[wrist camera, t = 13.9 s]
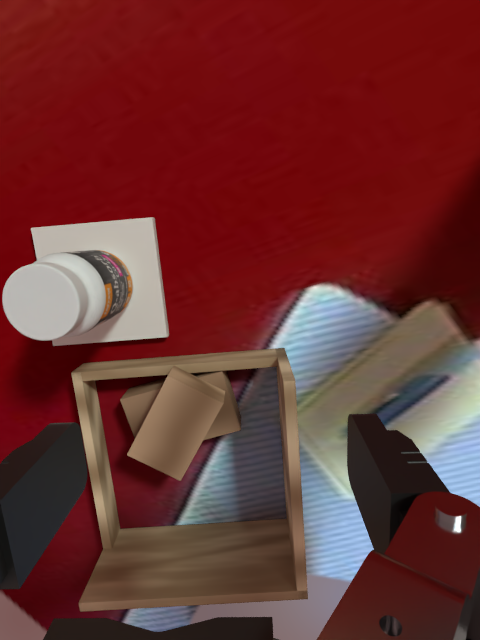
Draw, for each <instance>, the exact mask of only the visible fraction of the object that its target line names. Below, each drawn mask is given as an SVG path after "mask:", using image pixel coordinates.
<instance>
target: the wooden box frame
mask: <svg viewBox="0 0 480 640" xmlns="http://www.w3.org/2000/svg"><path fill="white" fill-rule="evenodd" d="M173 366H176V367H178V368H180V369H182V370H184V371H186V372H188V373H198V372H211V371H225V370H238V369H252V368H265V367H276V368H277V383H278V397H279V412H280V427H281V442H282V456H283V471H284V486H285V500H286V515H287V519H273V520H257V521H241V522H225V523H209V524H192V525H176V526H160V527H144V528H128V529H120V525H119V519H118V513H117V507H116V501H115V495H114V489H113V483H112V477H111V472H110V466H109V460H108V454H107V448H106V442H105V436H104V430H103V424H102V418H101V412H100V406H99V400H98V395H97V389H96V383H95V380H104V379H117V378H131V377H144V376H158V375H168V374H169V373H170V371H171V369H172V368H173ZM71 374H72V380H73V385H74V391H75V396H76V402H77V407H78V413H79V418H80V424H81V429H82V435H83V440H84V446H85V451H86V457H87V462H88V468H89V473H90V479H91V484H92V490H93V496H94V501H95V507H96V512H97V518H98V523H99V529H100V534H101V540H102V545H103V551H102V553H101V555H100V557H99V559H98V562H97V564H96V566H95V568H94V570H93V573H92V575H91V577H90V579H89V581H88V584H87V586H86V588H85V590H84V592H83V594H82V597H81V599H80V601H79V608H80V612H81V611H99V610H117V609H135V608H153V607H172V606H190V605H206V604H207V605H208V604H225V603H242V602H243V603H244V602H262V601H281V600H298V599H308V594H307V575H306V558H305V541H304V524H303V506H302V489H301V472H300V455H299V437H298V420H297V403H296V386H295V378H294V376H293V373H292V370H291V367H290V364H289V361H288V358H287V355H286V352H285V349H284V348H278V349H265V350H252V351H239V352H225V353H212V354H199V355H186V356H173V357H160V358H147V359H133V360H120V361H107V362H94V363H83V364H82V365H81V366H79V367H78V368H77V369H75V370H74V371H73V372H72V373H71Z"/></svg>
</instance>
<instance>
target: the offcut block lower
mask: <svg viewBox="0 0 480 640" xmlns="http://www.w3.org/2000/svg"><path fill="white" fill-rule="evenodd" d="M190 374H192V375H194V376H196V377H198V378H200V379H202V380H204V381H206V382H208V383H210V384H212V385H214V386H216V387H218V388H220V389H222V390H224V391H225V397H224V403H223V405H222V407H221V409H220V411H219V412H218V414H217V416H216V418H215V420H214V421H213V423H212V425H211V427H210V429H209V430H208V432H207V434H206V436H205V438H204V439H203V440H206V439H210V438H214V437H217V436H221V435H225V434H229V433H232V432H236V431H240V430H241V415H240V412H239V408H238V405H237V402H236V399H235V396H234V393H233V390H232V386H231V383H230V380H229V377H228V374H227V371H226V370H225V371H211V372H198V373H190ZM165 380H166V378H164V379H161V380H157V381H154V382H150V383H146V384H143V385H139V386H136V387H132V388H129V389H128V390H127V392H126V393H125V394H124V395H123V397H122V398H121V399H120V401H121V403H122V406H123V409H124V411H125V414H126V417H127V419H128V422H129V424H130V427H131V430H132V432H133V435H134V438H136V436H137V434H138V432H139V430H140V429H141V427H142V425H143V423H144V421H145V419H146V417H147V415H148V413H149V411H150V409H151V407H152V405H153V403H154V401H155V399H156V397H157V396H158V394H159V392H160V390H161V388H162V386H163V384H164V382H165Z"/></svg>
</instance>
